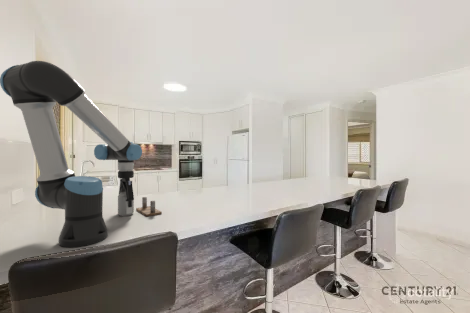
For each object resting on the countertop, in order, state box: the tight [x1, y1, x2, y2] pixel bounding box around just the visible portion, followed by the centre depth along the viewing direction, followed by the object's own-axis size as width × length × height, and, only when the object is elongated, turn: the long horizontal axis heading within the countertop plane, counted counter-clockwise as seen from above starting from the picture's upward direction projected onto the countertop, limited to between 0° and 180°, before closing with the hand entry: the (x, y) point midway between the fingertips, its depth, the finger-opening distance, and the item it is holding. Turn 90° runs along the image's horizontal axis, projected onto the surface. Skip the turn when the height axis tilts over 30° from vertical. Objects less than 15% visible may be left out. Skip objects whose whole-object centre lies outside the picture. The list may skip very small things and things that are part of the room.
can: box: [117, 192, 135, 217], centre depth 115 cm, size 8×8×12 cm
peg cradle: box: [135, 196, 162, 218], centre depth 120 cm, size 17×8×7 cm, turn 41°
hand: (125, 210), depth 115 cm, fingers open, 12 cm apart
